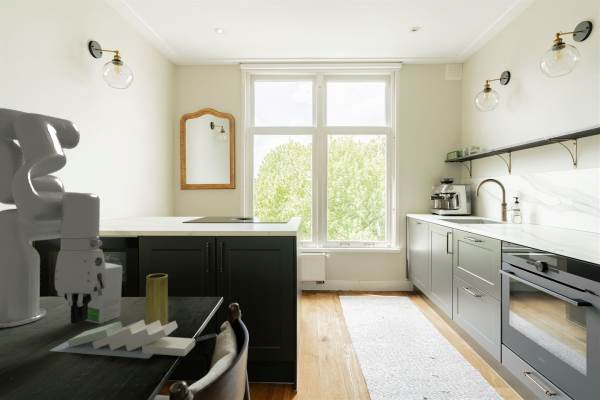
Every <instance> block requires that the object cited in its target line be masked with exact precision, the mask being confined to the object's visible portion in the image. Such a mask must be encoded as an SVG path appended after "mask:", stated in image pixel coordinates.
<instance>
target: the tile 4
mask: <svg viewBox="0 0 600 400" xmlns="http://www.w3.org/2000/svg"><path fill="white" fill-rule="evenodd" d="M176 321H177V320H174V321H170V322H168V324H166V325H164V326H161V327H160V328H159V329H157V330H156V331H154V332H153V333H152V334H150V335H149V336H146V337H144V338H141V339H139V340H136V341H134V342H131V343H129V344H126V348H127V350H128V351H131V350H133V349H136V348H138V347H141V346H143V345H146V344H148V343H151V342H153V341H155V340H158V339H160V338H163V337H168V335H170V334H171V333H172V332H173V331H175V330H176V329H177V328H178V327H179V326H178V324H177V322H176Z"/></svg>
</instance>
